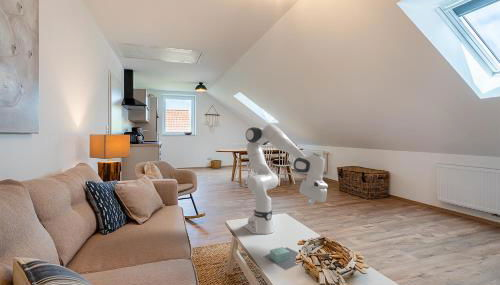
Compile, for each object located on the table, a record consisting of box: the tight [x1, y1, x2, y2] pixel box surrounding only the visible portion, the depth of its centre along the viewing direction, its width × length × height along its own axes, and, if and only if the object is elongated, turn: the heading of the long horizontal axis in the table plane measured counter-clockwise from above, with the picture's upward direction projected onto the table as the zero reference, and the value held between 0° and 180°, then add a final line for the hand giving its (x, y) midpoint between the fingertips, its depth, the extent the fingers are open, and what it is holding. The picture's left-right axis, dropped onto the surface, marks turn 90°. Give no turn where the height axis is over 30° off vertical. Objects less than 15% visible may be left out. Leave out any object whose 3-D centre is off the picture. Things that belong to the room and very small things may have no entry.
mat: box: [263, 247, 299, 271], centre depth 130 cm, size 17×18×1 cm
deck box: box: [269, 246, 290, 263], centre depth 129 cm, size 6×4×8 cm
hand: (310, 205), depth 142 cm, fingers closed
